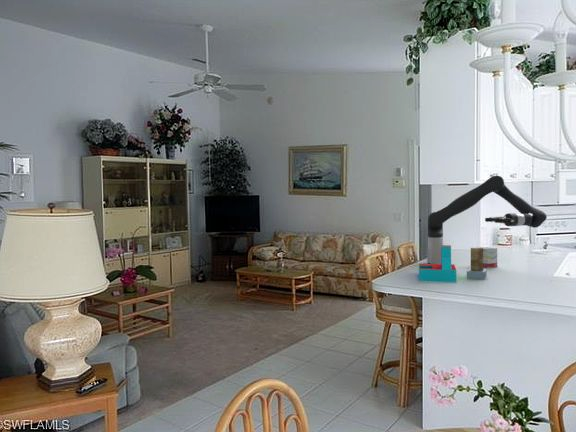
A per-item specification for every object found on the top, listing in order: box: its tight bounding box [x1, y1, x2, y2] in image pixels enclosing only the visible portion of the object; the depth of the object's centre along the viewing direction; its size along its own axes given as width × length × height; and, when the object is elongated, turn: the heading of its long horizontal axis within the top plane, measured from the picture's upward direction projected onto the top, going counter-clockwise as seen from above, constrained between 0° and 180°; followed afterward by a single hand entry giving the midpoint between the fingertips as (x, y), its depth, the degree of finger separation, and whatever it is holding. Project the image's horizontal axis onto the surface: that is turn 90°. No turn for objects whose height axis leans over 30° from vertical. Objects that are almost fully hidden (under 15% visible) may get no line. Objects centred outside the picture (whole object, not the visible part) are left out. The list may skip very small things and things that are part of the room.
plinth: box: [466, 268, 488, 281], centre depth 256 cm, size 9×9×4 cm
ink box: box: [479, 246, 498, 268], centre depth 291 cm, size 9×9×12 cm
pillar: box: [470, 247, 484, 271], centre depth 256 cm, size 4×4×12 cm
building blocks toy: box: [418, 244, 457, 283], centre depth 260 cm, size 19×25×18 cm
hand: (490, 220), depth 271 cm, fingers open, 8 cm apart
